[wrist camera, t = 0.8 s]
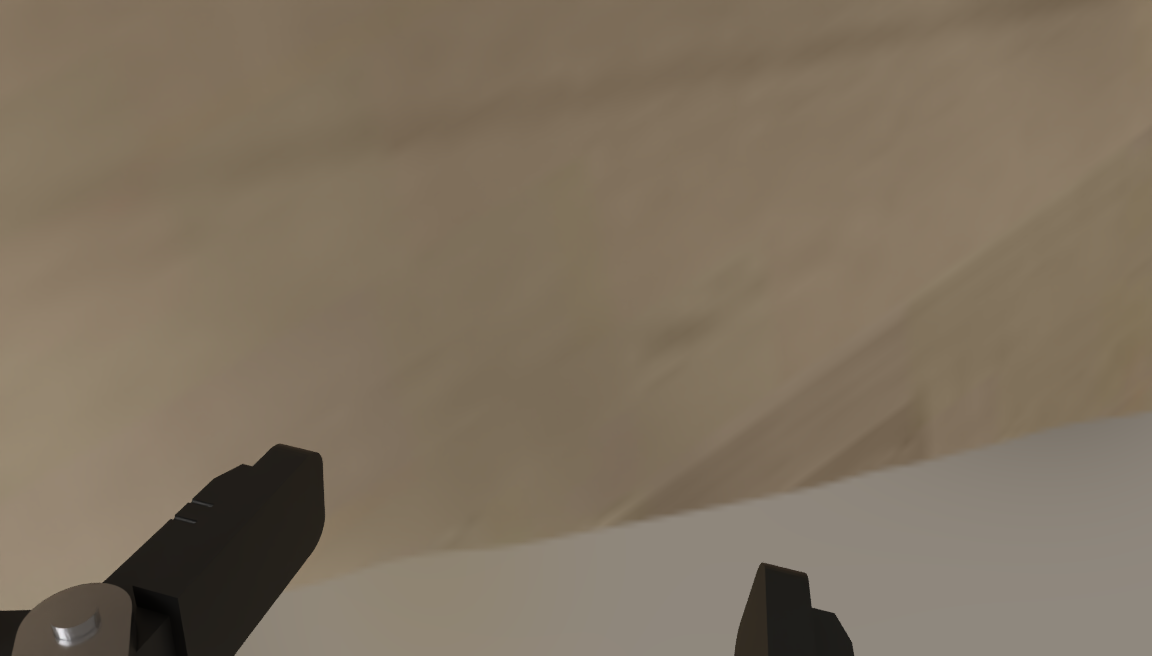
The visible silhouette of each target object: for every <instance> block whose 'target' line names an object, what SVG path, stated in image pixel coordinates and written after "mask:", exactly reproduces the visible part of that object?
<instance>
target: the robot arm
mask: <svg viewBox="0 0 1152 656" xmlns="http://www.w3.org/2000/svg"><path fill="white" fill-rule="evenodd" d="M324 521H325V507H324V483H323V462H322V457H321V455H320V454H319V453H317V452H313V451H309V450H305V449H300V448H296V447H292V446H288V445H284V444H277V445H275V446H273V447H272V448H271V449H270V450H269V451H268V452H267V453H266V454H265V455H264V456H263V457H262V458H261V459H260V460H259V461H258V462H257V463H256V464H255V465H254V466H253V467H252V466H248V465H244V464H242V465H240V466H238V467H236V468H234V469H232V470H230V471H228V472H226V473H224V474H222V475H220V476H218V477H216V478H214V479H213V480H212V481H211V482H210V483H209V484H208V485H207V486H206V487H204V488H203V489H202V490H201V491H200V492H199V493H198V494H197V495H196V496H195V497H194V498H193V500H192V502H191V503H187V504H186V505H185V506H184V507H183V508H182V509H181V510H180V511H179V512H178V513H177V514H176V515H175V518H174V519H173V520H172V519H170V520H169V521H168V522H167V523H166V524H165V525H164V526H163V527H162V528H161V529H160V530H159V531H157V532H156V533H155V534H154V535H153V536H152V537H151V538H150V539H149V540H148V541H147V542H146V543H145V544H144V545H143V546H141V547H140V548H139V549H138V550H137V551H136V552H135V553H134V554H133V555H132V556H131V557H130V558H129V559H128V560H127V561H125V562H124V563H123V564H122V565H121V566H120V567H119V568H118V569H117V570H116V571H115V572H114V573H113V574H112V575H111V576H109V577H108V578H107V579H106V580H105V581H104V582H103V583H89V584H82V585H78V586H74V587H71V588H68V589H65V590H63V591H60V592H58V593H56V594H54V595H52V596H50V597H49V598H47V599H45V600H44V601H42V602H41V603H40V604H38V605H37V606H36V607H35V608H33V609H32V610H17V611H0V656H234V655H235V654H236V652H237V651H238V649H239V648H240V647H241V646H242V644H243V643H244V642H245V640H246V639H247V638H248V636H249V635H250V634H251V632H252V631H253V630H254V628H255V627H256V626H257V625H258V623H259V622H260V621H261V619H262V618H263V616H264V615H265V614H266V613H267V611H268V610H269V609H270V607H271V606H272V605H273V603H274V602H275V601H276V599H277V598H278V597H279V595H280V594H281V593H282V592H283V590H284V589H285V588H286V586H287V585H288V584H289V582H290V581H291V580H292V578H293V577H294V576H295V574H296V573H297V572H298V570H299V569H300V568H301V566H302V565H303V564H304V562H305V561H306V560H307V558H308V557H309V556H310V555H311V553H312V552H313V550H314V549H315V547H316V545H317V543H318V541H319V539H320V537H321V534H322V531H323V527H324ZM734 656H854V652H853V646H852V642H851V640H850V638H849V637H848V635H847V633H846V632H845V630H844V628H843V627H842V625H841V623H840V622H839V620H838V618H837V617H836V615H835V614H834V613H831V612H827V611H823V610H818V609H815V608H812V607H811V599H810V589H809V581H808V576H807V574H806V573H803V572H799V571H795V570H791V569H787V568H783V567H778V566H775V565H771V564H767V563H761V564H760V566H759V568H758V570H757V574H756V577H755V579H754V583H753V586H752V589H751V592H750V595H749V598H748V601H747V604H746V607H745V610H744V613H743V616H742V619H741V622H740V626H739V630H738V634H737V639H736V646H735V654H734Z"/></svg>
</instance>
